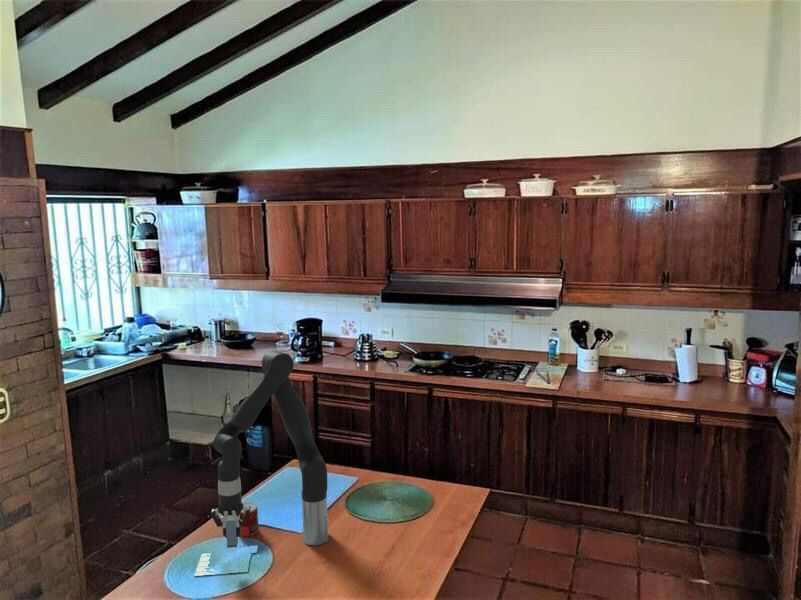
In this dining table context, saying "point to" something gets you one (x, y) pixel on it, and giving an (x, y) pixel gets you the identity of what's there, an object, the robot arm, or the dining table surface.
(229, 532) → the grey rectangular block
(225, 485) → the robot arm
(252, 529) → the canned food
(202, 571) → the notepad
